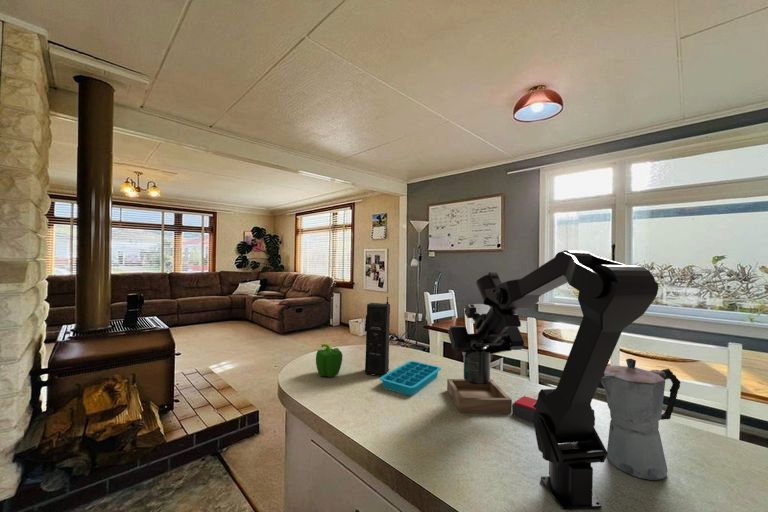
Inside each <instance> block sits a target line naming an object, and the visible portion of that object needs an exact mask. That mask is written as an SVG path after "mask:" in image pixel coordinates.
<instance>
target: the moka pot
mask: <svg viewBox="0 0 768 512" xmlns="http://www.w3.org/2000/svg"><path fill="white" fill-rule="evenodd" d="M625 361H626V366H625V365H614V364H613V365H609V366H607V367H606V369H605V372H604V374H603V376H602V378H601V381H600V383H601V384H602V386H603V389H604V392H605V397H606V404H607V407H608V409H609V413H610V414H609V415H610V421H609V430H608V439H607V447H606V448H607V449H606V451H607V453H608V455H607V457H606V458H607V459H608V461H609V463H611V464H612V465H613V466H614V467H615V468H617V469H619V470H620V471H622V472H624V473H626V474H628V475H630V476H633V477H635V478H639V479H642V480H643V479H645V480H648V481H649V480H650V481H654V480H656V481H657V480H663V479H665V478H666V477H667V475H668V464H667V461H666V457H665V452H664V447H663V441H662V437H661V433H660V430H659V427H660V426H659V422H660V420H661V421H663V420H670V419H671V416H672V413H673V411H674V406H675V404H676V401H677V400H676V399H677V398H678V393H679V390H680V387H681V381H680V380H679V379H678V378H677V376H676V375H675V374H674V373H673V371H672V370H671V369H669V368H666V369H661V370H659V369H651V370H647V369H643V368H639V367H636V363H637V362H636V361H637V360H636V359H633V358H626V359H625ZM666 380H670V382H671V383H672V385H671V386H670V388H669V397H668V401H667V406H666V409H665V411H664V412H663V405H664V398H665V397H664V396H665V388H666Z"/></svg>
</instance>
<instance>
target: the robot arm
mask: <svg viewBox="0 0 768 512" xmlns="http://www.w3.org/2000/svg"><path fill="white" fill-rule="evenodd" d="M500 279H501V278H500V276H499V274H498V272H497V271H489V272H488V274H485V275H483V276H482V277H480V278H478V279H477V280H476V282H475V285H476V288H477V290H478V293H479V295H480V298H481V301H482V302H483V303H473V304H467V305H466V306H465V308H464V315H465V316H466V318H467V319H472V321H473V322H474V323H473V324H472V325H473V328H474V329H475V330H476V332H475V333H468V332H469V331H468V330H467V327H466V325H451V326H450V327H449V328H448V331H447V333H448V337H449V340H450V343H451V348H452V351H454V352H456V353H457V352H458V353H459V352H461V354H462V356H463V357H464V356H465V355H468V354H470V353H472V352H473V349H472V346H473V344H482V345H483V346H488V347H489V349H490V356H491V355H494V354H495V355H496V354H500V353H505V352H512V351H516V350H517V351H521V350H522V349H523V348H524V347H525V342H526V341H525V339H524V337H523V335H522V333H521V330H520V328H521V326H522V322H521V320H520V318H519V317H520V316H519V313H518V311H517V310H530V309H532V307H534V306H535V305H536V304H538V302H539V298H540V297H541V296H543V295H544V294H547V293H549V292H550V291H551V292H552V291H553V290H555V289H557V288H560V287H561V286H563V285H565V284H568V285H569V286H571V287H572V288H573V289H575V290H577V291H579V292H578V296H577V301H578V303H579V305H580V306H579V307H580V309H581V312H582V315H583V316H582V319H581V322H580V325H579V327H578V329H577V333H576V335H575V338H574V340H573V344H572V345H571V349H570V351H569V353H568V357H567V359H566V362H565V365H564V367H563V370H562V373H561V375H560V377H559V380H558V383H557V386H556V387H555V388H545V389H544V388H543V389H540V391H538V393H539V394H538V399H537V402H536V404H534V405H533V407H534V408H536V409H535V412H534V418H533V422H534V423H533V426H534V432H535V439H536V444H537V449H538V451H539V452H540V453H542V459H544V460H545V461H548V476H547V475H546V476H543V475H542V476H540V482H541V483H542V484H543V485H544V487H545V488H546V490H547V491H548V492H549V494H550V495H551V496H552V498H553V499H554V500H555V501H556V502H557V504H558V506H559V507H560V508H561V509H563V510H575V509H576V510H579V509H580V510H585V509H589V510H590V509H591V510H592V509H593V510H595V509H597V510H599V509H603V508H602V507H603V506H602V505H603V504H602V503H601V501H599V500H598V498H596V496H595V495H594V494H593V483H594V477H593V475H594V474H593V473H594V467H593V466H592V464H594V463H595V464H596V463H602V464H603V463H605V461H606V459H607V458H608V457H607V455H608V453H607V449H606V447H605V445H604V443H603V441H602V440H601V438H600V436H599V434H598V432H597V430H596V428H595V425H594V423H595V424H596V416H594V415H595V412H594V413H593V410H594V409H593V407H592V405H591V404H592V401H593V398H594V397H595V394H596V392H597V391H598V387H599V385H600V383H601V378H602V376H603V374H604V372H605V369H606V367H608V364H609V363H610V361H611V358H612V355H613V353H614V351H615V349H616V346H617V344H618V342H619V339H620V336H621V335H622V333H623V330H625V329H626V328H627V327H628V326H630V325H631V324H632V323H635V321H636V320H638V319H640V318H641V317H642V316H643V315H644V314H645V313H646V312H647V310H649V307H650V306H651V305H652V303H653V302H654V300H656V298H657V295H658V292H659V283H658V282H656V279H655V277H654V275H653V274H652V272H651V271H650V270H649V269H647V268H646V267H644V266H640V265H635V264H633V265H632V264H629V265H627V264H626V263H621V262H618V261H614V260H611V259H607V258H604V257H600V256H598V255H595V254H593V253H591V252H589V251H585V250H565V249H564V250H561V251H559V252H557V253H556V254H555V256H554V257H553V258H551V259H550V260H548V261H547V262H545V263H544V264H542V265H540V266H539V267H537V268H535V269H533V270H532V271H530V272H529V273H528V274H526V275H524V276H523V277H521V278H517V279H511V280H505V281H502V282H501V280H500ZM592 409H593V410H592Z"/></svg>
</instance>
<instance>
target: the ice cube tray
mask: <svg viewBox="0 0 768 512" xmlns="http://www.w3.org/2000/svg"><path fill="white" fill-rule="evenodd" d="M441 369H442V367H440V366H437V365H434V364H433V365H432V364H429V363H424V362H420V361H417V360H416V361H415V360H409V361H407V362H405V363H403V364H401V365H400V366H398V367H397V368H395V369H392V370H391V371H388V373H387V374H385V375H383V376H379V381H381V382H382V387H384V388H383V389H385V388H387V389H386V390H389V389H391V390H390V391H392V390H394V391H393V392H395V391H396V392H397V393H399V392H400V393H399V394H402V395H406V396H415V395H416V394H417V393H418V392H420V391H421V390H422V389H424V388H425V387H426V386H428V385H429V384H430V383H431V382H433V381H435V379H437V378H438V374H439V371H441ZM436 377H437V378H436ZM427 384H428V385H427Z"/></svg>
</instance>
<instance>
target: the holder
mask: <svg viewBox="0 0 768 512" xmlns="http://www.w3.org/2000/svg"><path fill="white" fill-rule="evenodd" d="M446 381H447V383H446V384H447V385H446V387H447V389H446V391H447V393H448V394H449V396H450V398H451V399H452V402H453V403H454V405H455V407H456V409H457V410H458V412H459V413H460V414H480V413H481V414H512V404H513V399H512V398H511V397H510V396H509V395H508V394H507V393H506V392H505V391H504V390H503V389H502V388H501V387H500V386H499V385H498V384H497V383H496V382H495V381H494V380H493V379H492V378H490V382H489V383H488V384H485V385H476V384H471V383H469V382H467V381H465V379H464V378H447V380H446Z"/></svg>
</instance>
